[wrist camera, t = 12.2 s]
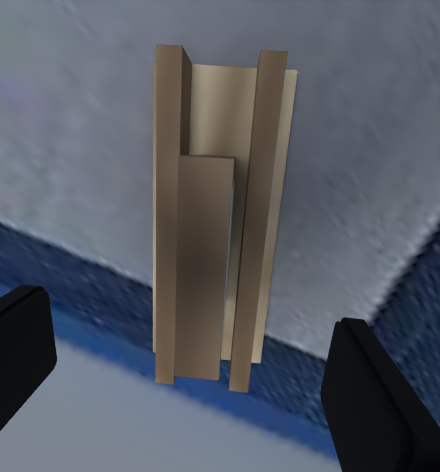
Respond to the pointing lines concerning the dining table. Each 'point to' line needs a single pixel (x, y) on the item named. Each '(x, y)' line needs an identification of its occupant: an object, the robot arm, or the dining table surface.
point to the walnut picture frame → (202, 261)
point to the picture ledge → (245, 188)
